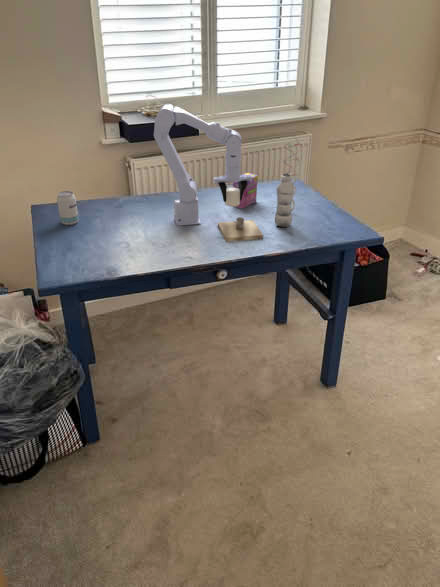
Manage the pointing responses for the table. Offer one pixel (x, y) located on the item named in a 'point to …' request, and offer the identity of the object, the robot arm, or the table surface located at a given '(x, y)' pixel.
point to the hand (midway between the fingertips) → (232, 200)
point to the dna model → (290, 166)
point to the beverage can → (67, 208)
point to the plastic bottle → (284, 201)
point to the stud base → (240, 230)
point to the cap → (232, 197)
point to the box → (248, 191)
